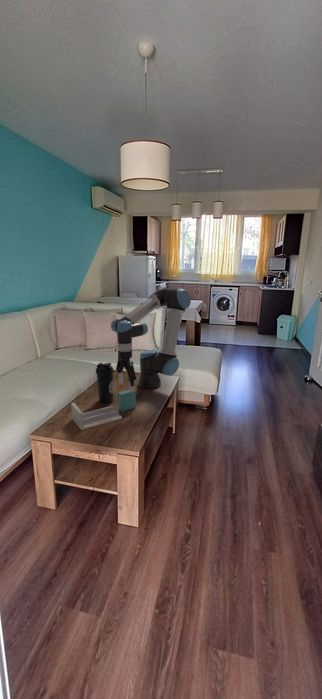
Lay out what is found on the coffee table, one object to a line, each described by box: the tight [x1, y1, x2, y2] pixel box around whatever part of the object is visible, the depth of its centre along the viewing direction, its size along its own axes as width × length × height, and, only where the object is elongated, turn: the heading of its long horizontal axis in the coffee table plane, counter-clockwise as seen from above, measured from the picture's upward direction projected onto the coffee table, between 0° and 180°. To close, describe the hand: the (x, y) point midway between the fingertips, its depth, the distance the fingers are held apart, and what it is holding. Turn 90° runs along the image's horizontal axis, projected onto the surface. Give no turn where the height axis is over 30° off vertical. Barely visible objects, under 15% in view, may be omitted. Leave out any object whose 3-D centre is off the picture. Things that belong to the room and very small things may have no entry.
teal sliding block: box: [117, 389, 137, 412], centre depth 183 cm, size 9×4×10 cm, turn 122°
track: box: [70, 402, 123, 431], centre depth 171 cm, size 22×14×9 cm, turn 122°
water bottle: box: [95, 362, 115, 405], centre depth 191 cm, size 10×10×23 cm
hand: (126, 387), depth 181 cm, fingers open, 13 cm apart
